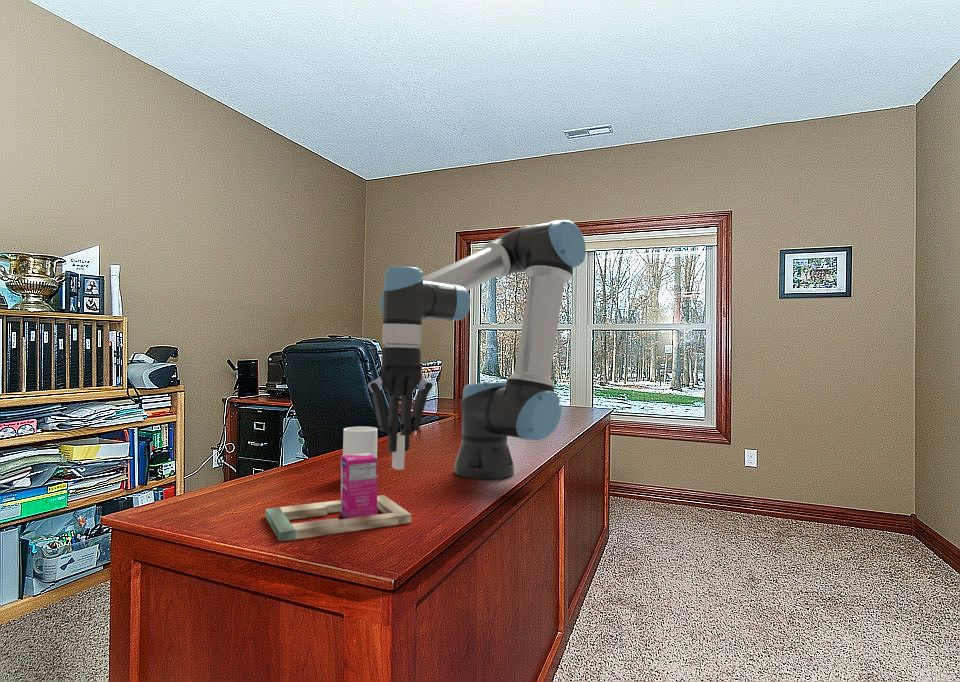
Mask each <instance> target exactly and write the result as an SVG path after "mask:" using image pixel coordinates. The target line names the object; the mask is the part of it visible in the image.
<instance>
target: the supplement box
mask: <svg viewBox="0 0 960 682" xmlns="http://www.w3.org/2000/svg"><path fill="white" fill-rule="evenodd" d="M377 476H378V457H377V458H376V457H374V456H373V455H371V454H370V453H362V454H351V455H343V454H342V455H340V500H341V511H340V515H341V516H342V517H343V519H349V518H356V517H364V516H371V515H378V508H377V496H378V478H377Z"/></svg>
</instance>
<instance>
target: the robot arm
mask: <svg viewBox="0 0 960 682" xmlns="http://www.w3.org/2000/svg"><path fill="white" fill-rule="evenodd" d="M586 252H587V251H586V242H585V238H584V236H583V233H582V231H581V230H580V228H579V227H578V226H577V225H576V224H575V223H574V222H573V221H571V220H567V219H562V220H552V221H550V222H545V223H538V224H534V225H533V224H532V225H526V226H522V227H519V228H516V229H514V230H512V231H509V232H507V233H505V234H503V235H500V236H499V237H497V238H495V239H493V240H492V241H489V242H487V243H485V244H484V246H482V249H481V250H479V251H477V252H474V253H473V254H471V255H468V256H466V257H464V258H461V259H459V260H457V261H454V262H453V263H451V264H449V265H447V266H445V267H444V266H443V267H442V268H440V269H437V270H436V271H433V272H431V273H428V274H427V275H424V272H423V270H422V269H421V268H419V267H414V266H405V265H404V266H402V265H401V266H399V265H397V266H391V267H389V268H387V269H386V270H385V272H384V278H383V279H384V280H383V288H382V291H383V293H382V295H381V296H380V300H379V307H380V311H381V313H382V338H381V339H382V340H381V341H382V342H381V343H382V344H383V345H384V346H385V347H382V349H381V370H380V372H379V375H378V377H377V378H376V379H374V380H373V381H369V382H367V384H366V387H367V388H368V389H369V392H370V393H371V394H372V401H373V405H374V411H375V415H376V420H377V426H378V429H379V431H380V432H383V433H385V434H387V435H388V438H387V439H388V441H387V449H388V452H391V453H392V454H391V456H392V457H391V468H393V469H395V470H399V471H400V470H405V452H408V451H409V449H410V436H411V435H412V433H414V432H417V431H419V430H420V425H421V422H422V418H423V414H424V412H425V411H424V410H425V406H426V403H427V398H428V395H429V393H430V392H431V390H432V388H433V383H432V382H428V381H427V380H426V379H424V378H423V374H422V372H421V363H422V362H421V360H422V359H421V357H422V356H421V355H422V350H421V349H420V348H419V346H421V345H422V325H423V322H422V321H434V320H435V321H436V320H445V321H448V322H449V321H461V320H463V319H464V318H466V316H467V315H468V313H469V312H470V308H471V295H470V292H469V291H470V290H472V289H474V288H476V287H478V286H480V285H483V284H484V283H486V282H487V281H490V280H492V279H494V278H497V279H501V278H504V277H505V276H508V275H511V274H516V273H523V272H525V274H526V276H528V278H529V283H528V287H527V288H528V289H527V295H526V301H525V306H524V313H523V317H522V318H523V319H522V325H521V329H520V331H521V332H520V337H519V344H518V349H517V356H516V361H515V366H514V367H515V368H514V372H513V373H512V374H510V376H508V377H507V378H506V381H492V382H491V381H490V382H480V383H478V382H477V383H470V384H467V385H465V386H464V387H463V388H462V399H461V444H460V447H459V450H458V453H457V456H456V459H455V462H454V474H455V475H456V476H459V477H461V478H468V479H474V480H499V478H500V479H505V477H506V478H509V477H512V476H514V474H515V473H514V472H515V470H514V469H515V465H514V462H513V458H512V455H511V451H510V447H509V445H508V437H510V438H516V439H517V438H518V439H522V440H526V441H531V440H532V441H542V440H545V439H547V438H549V436H550V435H551V434H553V433H554V432H555V430H556V429H557V427H558V425H559V423H560V421H561V416H562V404H561V400H560V397H559V396H558V395H557V394H556V393H555V384H554V383H553V381H552V380H551V372H552V365H553V358H554V351H555V347H556V340H557V334H558V328H559V327H558V326H559V321H560V314H561V308H562V307H561V306H562V302H563V301H562V300H563V294H564V288H565V284H566V283H567V282H569V281H570V280H571V279H572V278H573V271H574V268H577V267H579V266H581V264H583V263H584V260H585V258H586ZM383 387H384V389H385V390H386V391H387V398H388V408H387V409H388V410H387V411H386V408H385V402H384V396H383V392H382V391H381V390H383ZM416 388H418V390H417V393H416V396H415V400H414V405H413V408H412V399H413V392H414V391H415V389H416ZM399 404H400V405H399ZM399 408H400V426H399ZM399 429H400V430H399ZM399 431H400V433H399ZM511 475H512V476H511Z"/></svg>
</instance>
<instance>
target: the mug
mask: <svg viewBox="0 0 960 682" xmlns="http://www.w3.org/2000/svg"><path fill="white" fill-rule="evenodd" d="M342 439H343V440H342V441H343V443H342V451H343V452H342V455H351V454H362V453H370V454H371V455H373V456H374V457H376V458H377V459H378V427H375V426H374V427H373V426H351V427H350V426H349V427H345V428H343V438H342ZM378 478H379V476H378V475H377V479H378Z"/></svg>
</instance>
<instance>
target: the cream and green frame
mask: <svg viewBox="0 0 960 682" xmlns="http://www.w3.org/2000/svg"><path fill="white" fill-rule="evenodd" d="M377 510H379V511H380V512H382V513H379V514H377V515H371V516H364V517H356V518H349V519H345V518H342V519H339V517H334V518H326V519H325V518H324V519H319V520H310V521H305V522H303V521H302V522H297V523H295V522H294V523H291V522H290V521H292V520H299V519H307V518H314V517H323V516H327V515H328V514H330V513H341V499H340V500H338V499H337V500H331V501H323V502H322V501H321V502H313V503H304V504H296V505H295V504H294V505H288V506H287V505H286V506H280V507H279V506H278V507H270V508H265V519H266V521H267V522H268V524H269V525H270V528H271V529H272V531H273V532H274V535H275V536H276V538H277V540H278V541H279V542H288V541H293V540H300V539H307V538H314V537H321V536H326V535H336V534H342V533H343V534H344V533H348V532H356V531H361V530H362V531H363V530H370V529H377V528H384V527H391V526H397V525H403V524H404V525H405V524H410V523H412V513H410V512H408V511H407V510H406V509H404V508H403V507H402V506H400V505H399V504H398V503H396V502H395V501H393V500H391V499H390V498H388V497H387V496H386V495H384V494H382V495H377Z"/></svg>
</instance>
